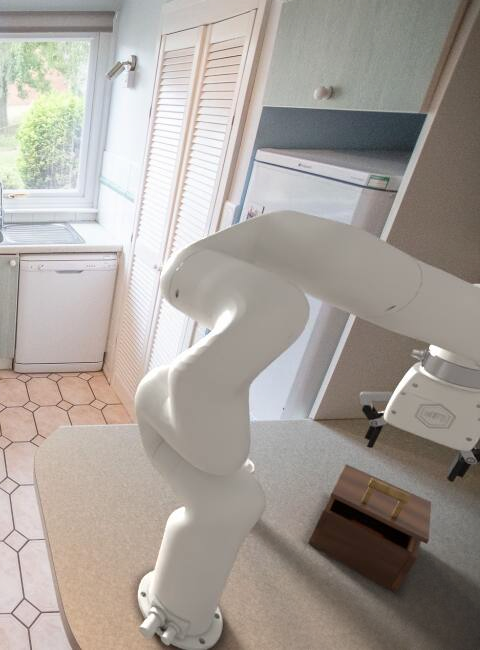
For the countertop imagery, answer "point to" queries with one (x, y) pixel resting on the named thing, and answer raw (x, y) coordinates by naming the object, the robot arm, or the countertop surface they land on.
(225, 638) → the countertop surface
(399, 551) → the chest
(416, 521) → the lid
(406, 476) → the countertop surface
